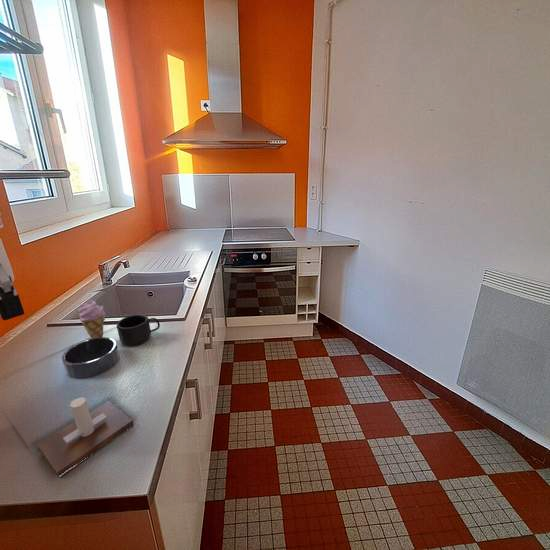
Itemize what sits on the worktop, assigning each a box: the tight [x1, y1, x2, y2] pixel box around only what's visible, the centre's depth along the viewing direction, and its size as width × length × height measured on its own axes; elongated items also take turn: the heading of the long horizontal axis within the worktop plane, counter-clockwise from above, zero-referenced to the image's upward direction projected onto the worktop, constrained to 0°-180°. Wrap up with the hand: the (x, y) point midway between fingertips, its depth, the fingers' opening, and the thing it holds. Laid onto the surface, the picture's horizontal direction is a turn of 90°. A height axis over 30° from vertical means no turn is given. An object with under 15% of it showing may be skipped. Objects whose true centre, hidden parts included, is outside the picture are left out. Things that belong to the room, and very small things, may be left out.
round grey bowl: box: [61, 336, 120, 380], centre depth 83 cm, size 13×13×5 cm
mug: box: [116, 314, 161, 347], centre depth 95 cm, size 12×9×7 cm
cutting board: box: [36, 400, 135, 476], centre depth 61 cm, size 14×10×2 cm
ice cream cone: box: [77, 299, 107, 339], centre depth 91 cm, size 7×6×15 cm
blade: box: [63, 397, 107, 444], centre depth 60 cm, size 8×3×8 cm, turn 144°
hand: (5, 310), depth 58 cm, fingers open, 9 cm apart
